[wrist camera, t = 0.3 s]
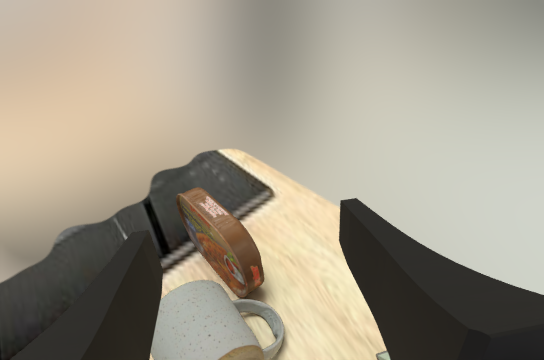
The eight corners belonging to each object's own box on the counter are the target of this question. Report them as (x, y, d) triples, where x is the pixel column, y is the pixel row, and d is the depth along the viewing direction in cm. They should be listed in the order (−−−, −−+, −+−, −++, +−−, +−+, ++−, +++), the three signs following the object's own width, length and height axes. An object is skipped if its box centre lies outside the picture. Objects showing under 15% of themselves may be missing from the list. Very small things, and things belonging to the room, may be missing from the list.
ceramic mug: (200, 447, 25) (168, 402, 21) (159, 362, 31) (127, 313, 27) (306, 353, 30) (298, 300, 25) (254, 294, 36) (240, 242, 31)
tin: (186, 236, 44) (164, 184, 39) (207, 223, 45) (189, 172, 41) (250, 314, 34) (232, 257, 29) (276, 295, 35) (261, 238, 30)
